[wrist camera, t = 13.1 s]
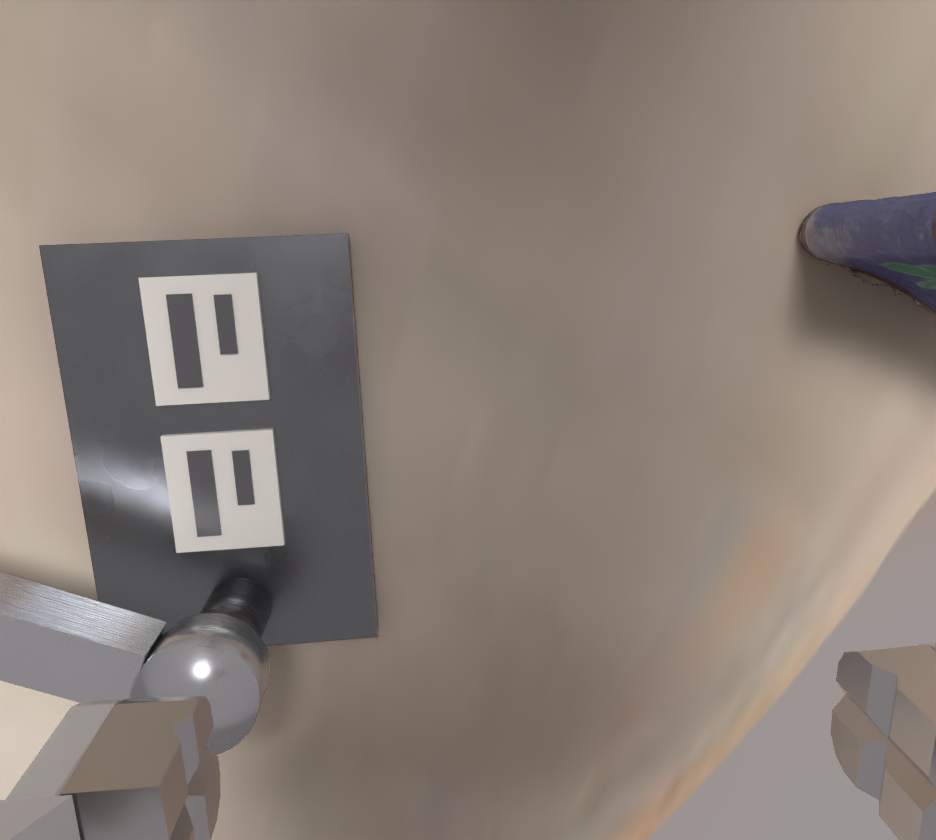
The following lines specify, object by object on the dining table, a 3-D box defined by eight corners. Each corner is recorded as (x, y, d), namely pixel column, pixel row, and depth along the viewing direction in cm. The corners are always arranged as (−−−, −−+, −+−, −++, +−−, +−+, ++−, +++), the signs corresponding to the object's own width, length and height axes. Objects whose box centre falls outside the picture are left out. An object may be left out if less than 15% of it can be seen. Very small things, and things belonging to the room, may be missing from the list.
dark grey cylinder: (203, 580, 32) (172, 631, 28) (268, 575, 32) (246, 625, 28) (211, 638, 33) (181, 696, 28) (274, 633, 33) (254, 690, 29)
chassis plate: (51, 246, 29) (39, 245, 28) (348, 234, 30) (346, 233, 29) (116, 647, 33) (107, 658, 32) (377, 625, 34) (377, 636, 33)
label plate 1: (140, 277, 29) (137, 277, 29) (257, 272, 29) (255, 272, 29) (158, 404, 30) (155, 406, 30) (270, 398, 31) (268, 400, 30)
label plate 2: (162, 434, 31) (159, 437, 30) (273, 428, 31) (272, 430, 30) (178, 550, 32) (175, 553, 31) (285, 542, 32) (283, 546, 32)
